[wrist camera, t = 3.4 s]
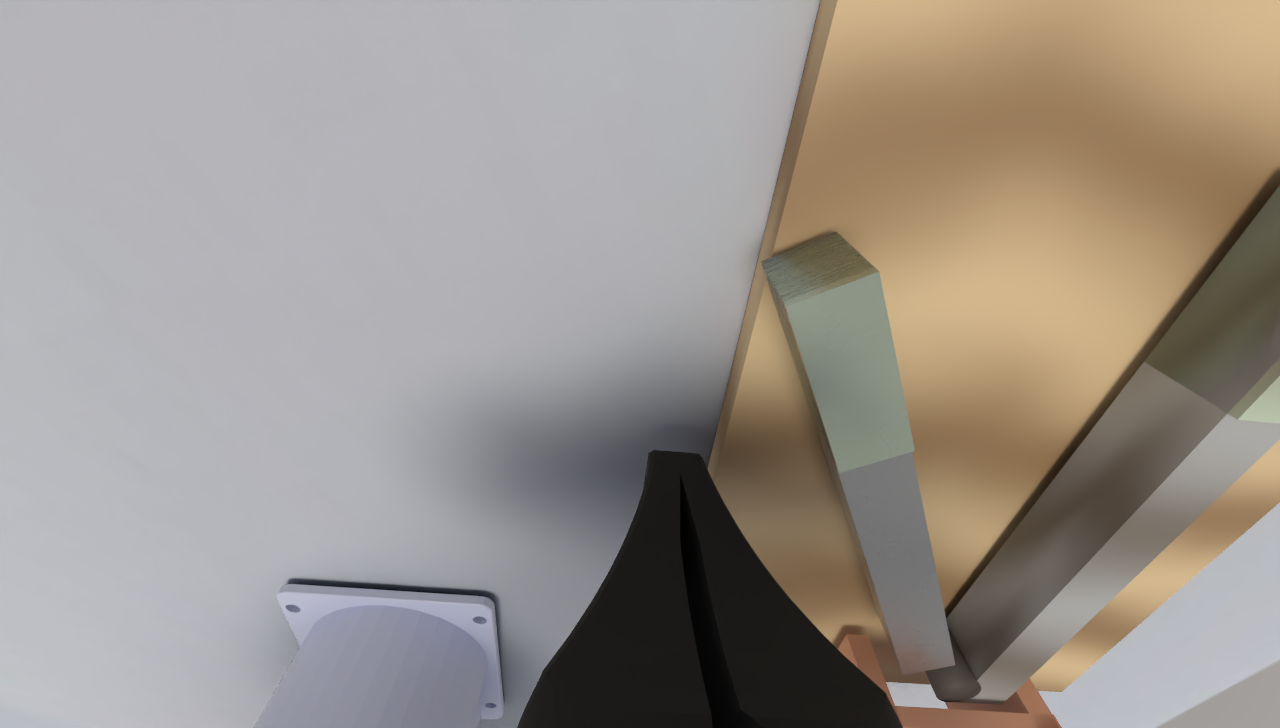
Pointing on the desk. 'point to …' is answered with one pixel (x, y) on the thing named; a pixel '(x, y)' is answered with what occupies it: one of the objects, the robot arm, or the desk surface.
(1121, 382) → the tongs board
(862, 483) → the tong arm
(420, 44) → the desk surface
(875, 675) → the collar
